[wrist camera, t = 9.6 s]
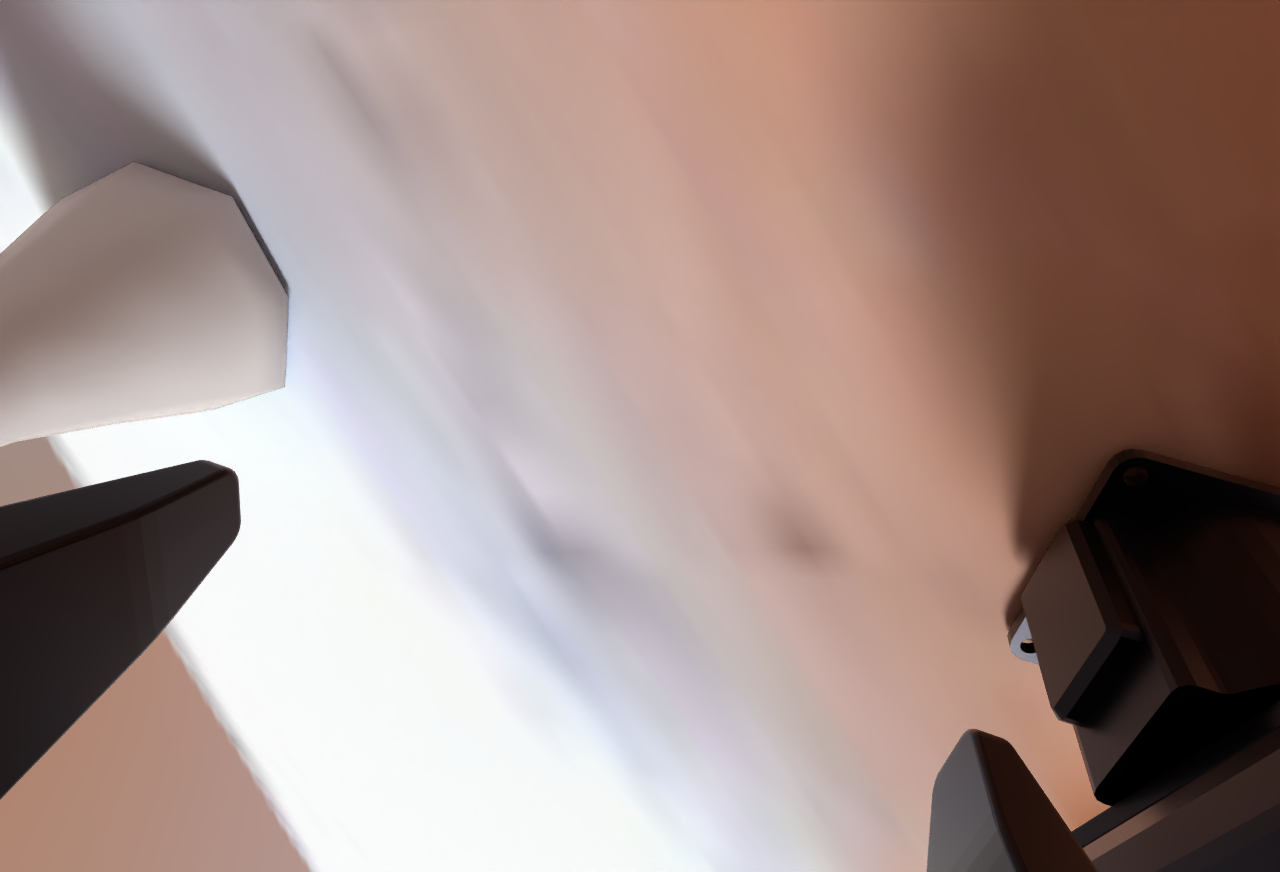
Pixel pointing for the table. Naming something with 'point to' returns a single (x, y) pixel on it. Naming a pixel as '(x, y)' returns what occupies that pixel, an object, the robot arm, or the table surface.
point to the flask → (135, 308)
